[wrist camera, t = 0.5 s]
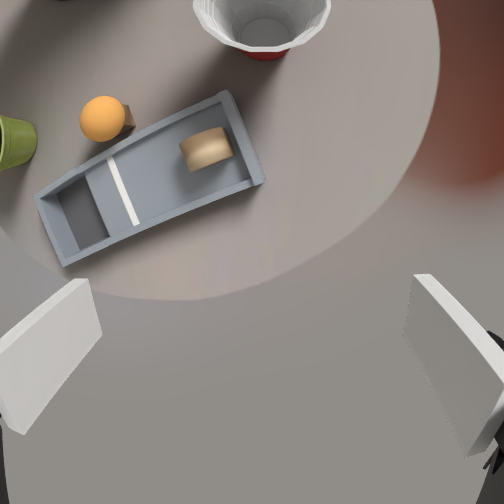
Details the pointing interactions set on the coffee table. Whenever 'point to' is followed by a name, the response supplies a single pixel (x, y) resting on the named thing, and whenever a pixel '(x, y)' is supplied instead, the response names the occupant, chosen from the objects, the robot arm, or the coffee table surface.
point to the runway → (145, 181)
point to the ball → (102, 118)
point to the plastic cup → (262, 23)
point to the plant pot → (16, 142)
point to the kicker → (206, 149)
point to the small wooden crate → (127, 120)
